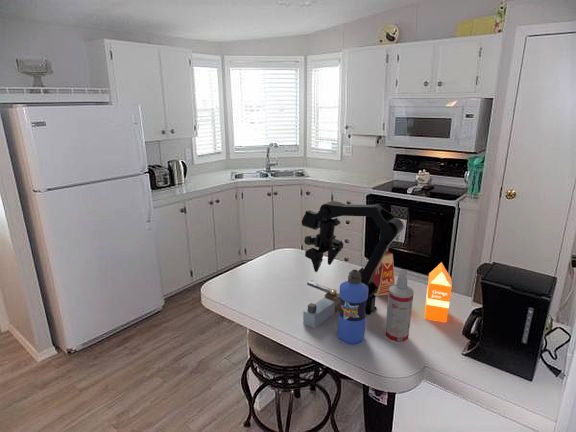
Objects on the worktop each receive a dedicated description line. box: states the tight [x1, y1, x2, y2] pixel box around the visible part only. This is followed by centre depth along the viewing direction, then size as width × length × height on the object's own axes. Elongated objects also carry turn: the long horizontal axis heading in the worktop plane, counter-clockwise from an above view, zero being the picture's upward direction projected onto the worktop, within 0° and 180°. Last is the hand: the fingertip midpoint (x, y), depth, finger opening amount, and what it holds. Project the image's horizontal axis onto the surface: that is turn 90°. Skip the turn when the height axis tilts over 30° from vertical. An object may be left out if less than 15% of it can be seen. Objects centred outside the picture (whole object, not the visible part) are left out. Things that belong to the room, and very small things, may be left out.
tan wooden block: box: [324, 292, 341, 314], centre depth 145 cm, size 5×4×6 cm
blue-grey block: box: [302, 296, 335, 329], centre depth 139 cm, size 5×13×8 cm, turn 140°
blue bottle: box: [337, 269, 368, 346], centre depth 125 cm, size 9×9×25 cm
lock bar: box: [306, 280, 337, 296], centre depth 147 cm, size 13×2×2 cm, turn 50°
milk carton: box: [373, 248, 396, 297], centre depth 158 cm, size 9×9×20 cm
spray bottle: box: [384, 269, 415, 345], centre depth 125 cm, size 8×8×25 cm
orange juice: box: [424, 261, 453, 323], centre depth 139 cm, size 8×9×20 cm
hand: (322, 268), depth 153 cm, fingers open, 9 cm apart
